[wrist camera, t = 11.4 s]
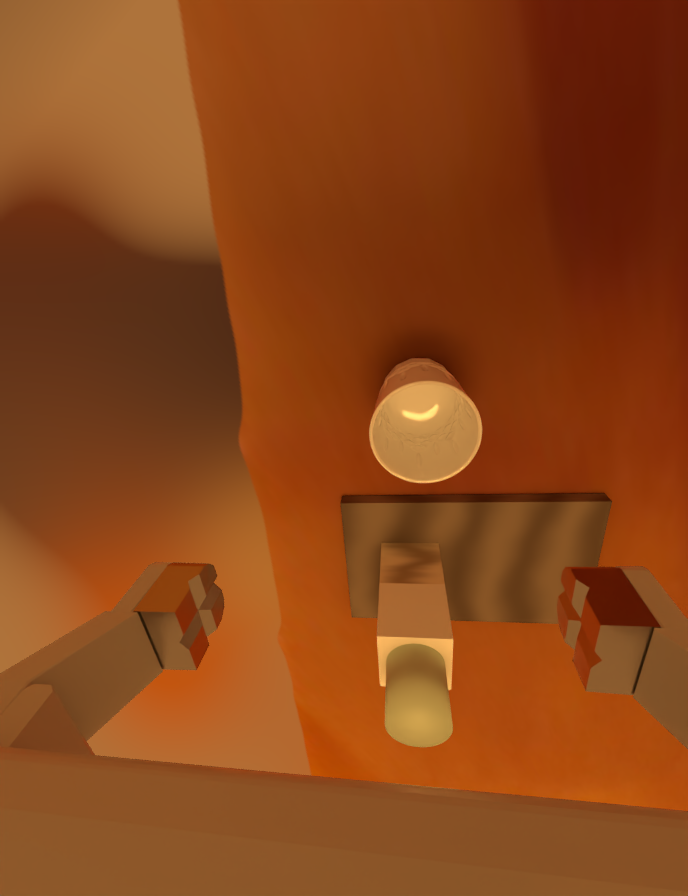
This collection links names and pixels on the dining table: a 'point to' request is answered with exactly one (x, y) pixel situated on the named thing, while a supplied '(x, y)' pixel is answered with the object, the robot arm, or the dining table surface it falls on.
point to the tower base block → (411, 563)
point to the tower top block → (413, 621)
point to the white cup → (424, 423)
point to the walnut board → (479, 548)
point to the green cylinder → (417, 696)
